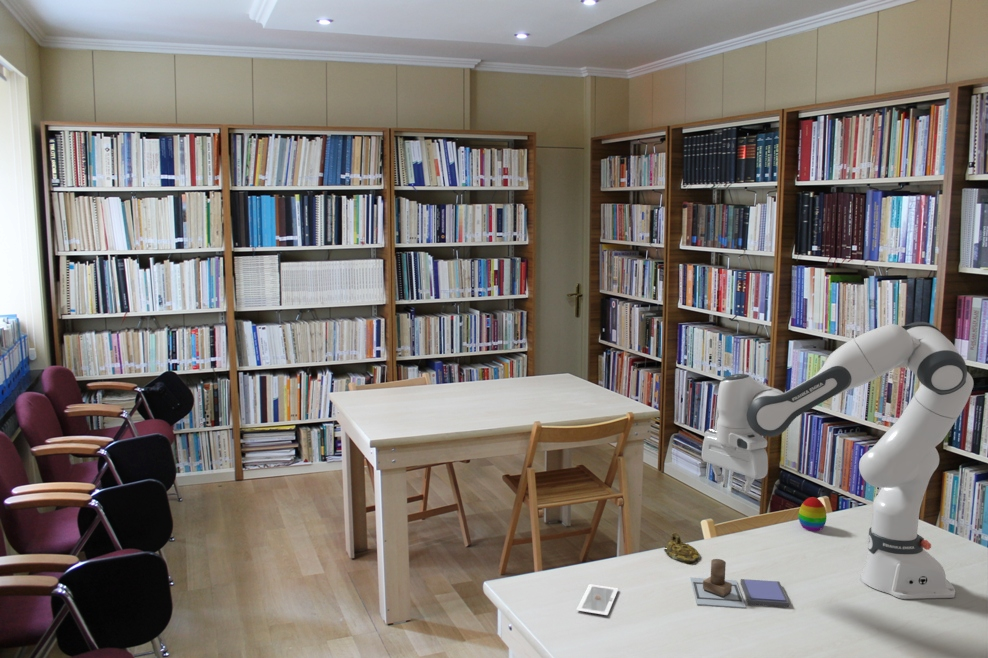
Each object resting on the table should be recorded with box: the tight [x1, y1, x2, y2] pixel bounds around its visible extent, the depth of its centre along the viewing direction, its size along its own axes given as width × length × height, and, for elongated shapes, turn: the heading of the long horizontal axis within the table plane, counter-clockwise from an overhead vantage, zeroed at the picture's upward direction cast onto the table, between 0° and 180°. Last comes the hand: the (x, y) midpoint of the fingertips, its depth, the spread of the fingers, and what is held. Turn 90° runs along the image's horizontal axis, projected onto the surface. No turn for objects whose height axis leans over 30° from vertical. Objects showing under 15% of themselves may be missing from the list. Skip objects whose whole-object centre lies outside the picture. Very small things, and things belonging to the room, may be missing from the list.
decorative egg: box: [798, 496, 827, 532], centre depth 253 cm, size 8×8×10 cm
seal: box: [663, 532, 701, 565], centre depth 234 cm, size 9×5×15 cm
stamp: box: [703, 558, 732, 598], centre depth 209 cm, size 6×4×8 cm, turn 45°
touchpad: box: [575, 583, 619, 616], centre depth 205 cm, size 8×15×2 cm, turn 161°
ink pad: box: [739, 578, 790, 608], centre depth 209 cm, size 10×12×2 cm
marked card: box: [690, 576, 747, 609], centre depth 210 cm, size 12×15×1 cm
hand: (732, 486), depth 213 cm, fingers open, 8 cm apart
